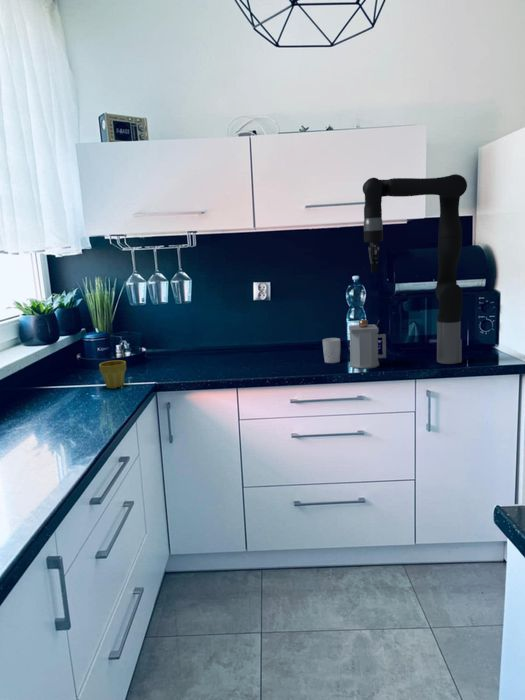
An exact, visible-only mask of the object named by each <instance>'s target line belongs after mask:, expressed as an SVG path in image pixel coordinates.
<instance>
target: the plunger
mask: <svg viewBox="0 0 525 700" xmlns="http://www.w3.org/2000/svg"><path fill="white" fill-rule="evenodd" d="M358 325H359V327H362V328H364V327H367V326H368V325H369V324H368V320H367V319H359V320H358Z"/></svg>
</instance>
